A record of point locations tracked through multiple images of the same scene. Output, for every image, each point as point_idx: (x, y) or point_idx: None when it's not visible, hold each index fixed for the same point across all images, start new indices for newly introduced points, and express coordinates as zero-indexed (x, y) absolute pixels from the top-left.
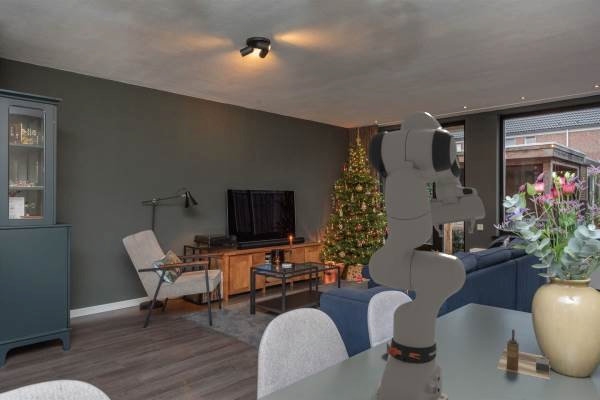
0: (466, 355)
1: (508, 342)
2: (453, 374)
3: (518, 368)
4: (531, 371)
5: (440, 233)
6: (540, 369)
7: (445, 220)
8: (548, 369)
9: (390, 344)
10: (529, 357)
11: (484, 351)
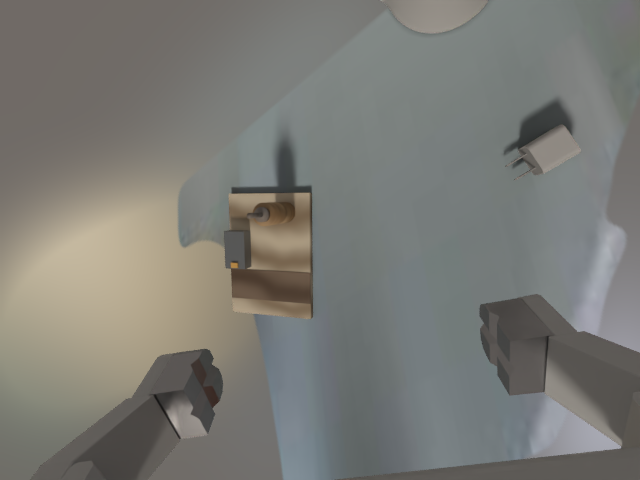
0: (378, 251)
1: (271, 208)
2: (383, 124)
3: None
4: None
5: (528, 306)
6: (242, 230)
7: (515, 463)
8: (229, 230)
9: (563, 133)
10: (264, 289)
11: (348, 298)
